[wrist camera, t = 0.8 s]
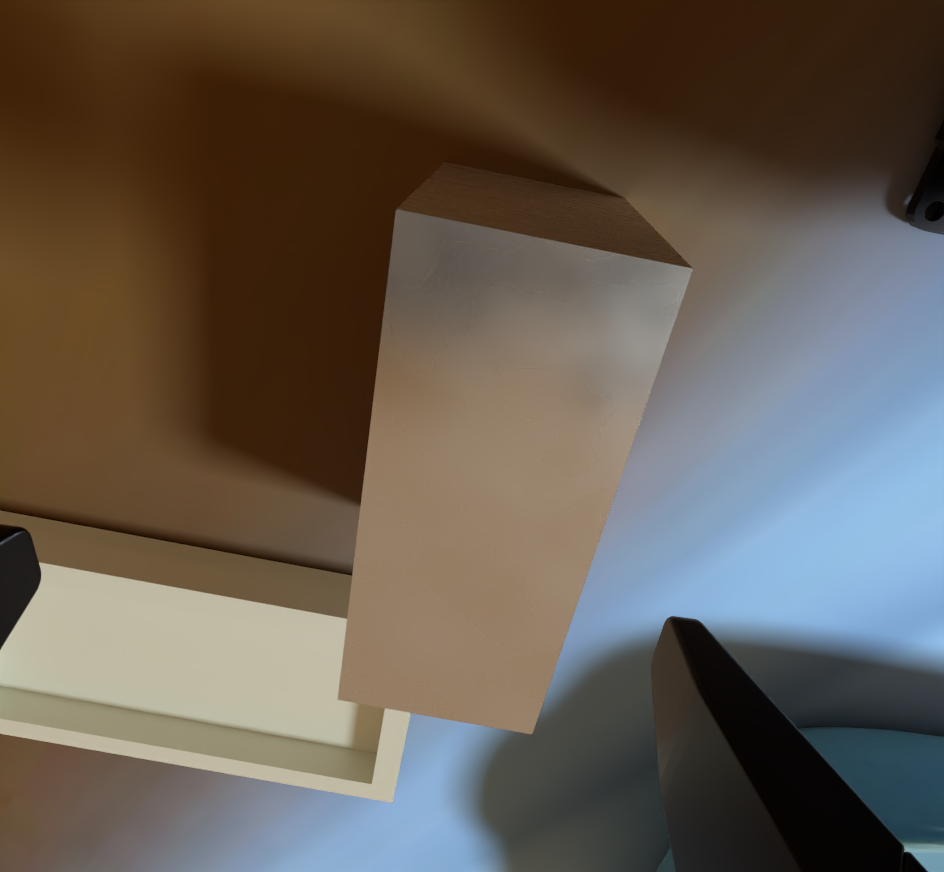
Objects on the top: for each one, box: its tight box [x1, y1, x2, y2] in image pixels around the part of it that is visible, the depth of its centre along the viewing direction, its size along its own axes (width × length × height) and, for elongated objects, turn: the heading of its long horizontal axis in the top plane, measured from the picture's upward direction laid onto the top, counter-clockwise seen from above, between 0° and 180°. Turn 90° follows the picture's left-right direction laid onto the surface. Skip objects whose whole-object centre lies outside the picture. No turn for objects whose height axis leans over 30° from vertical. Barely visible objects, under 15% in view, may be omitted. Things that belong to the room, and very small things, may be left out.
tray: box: [0, 510, 411, 803], centre depth 26 cm, size 19×10×2 cm, turn 80°
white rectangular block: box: [338, 162, 693, 734], centre depth 17 cm, size 5×12×8 cm, turn 170°
